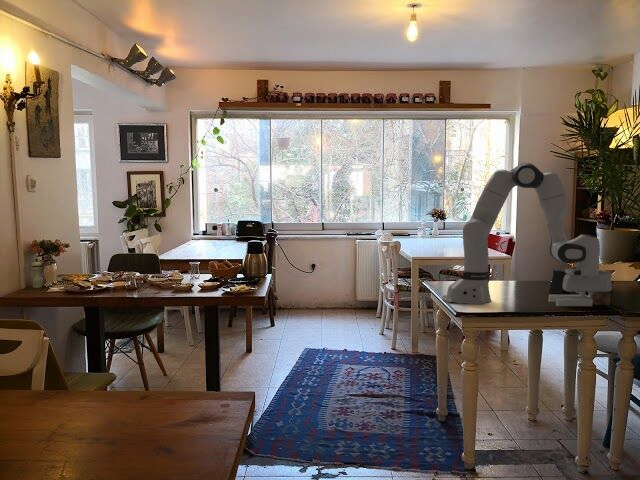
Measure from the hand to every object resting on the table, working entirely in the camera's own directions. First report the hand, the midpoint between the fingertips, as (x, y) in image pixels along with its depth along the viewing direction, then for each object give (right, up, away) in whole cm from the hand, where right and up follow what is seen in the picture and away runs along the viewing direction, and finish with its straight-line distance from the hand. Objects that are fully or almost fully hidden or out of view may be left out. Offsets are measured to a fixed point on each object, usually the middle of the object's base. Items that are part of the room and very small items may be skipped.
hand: (586, 301), depth 229 cm
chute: (-7, -2, +1) cm, 8 cm away
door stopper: (+1, 0, +28) cm, 28 cm away
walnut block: (+6, -1, 0) cm, 6 cm away
